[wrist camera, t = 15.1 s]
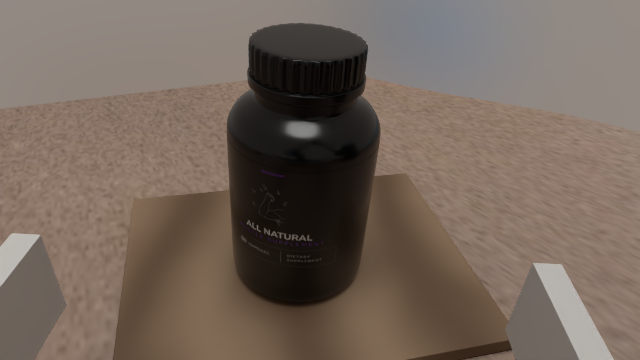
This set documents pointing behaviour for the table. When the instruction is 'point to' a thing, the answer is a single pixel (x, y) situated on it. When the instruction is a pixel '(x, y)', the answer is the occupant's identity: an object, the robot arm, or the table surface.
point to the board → (310, 317)
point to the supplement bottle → (301, 162)
